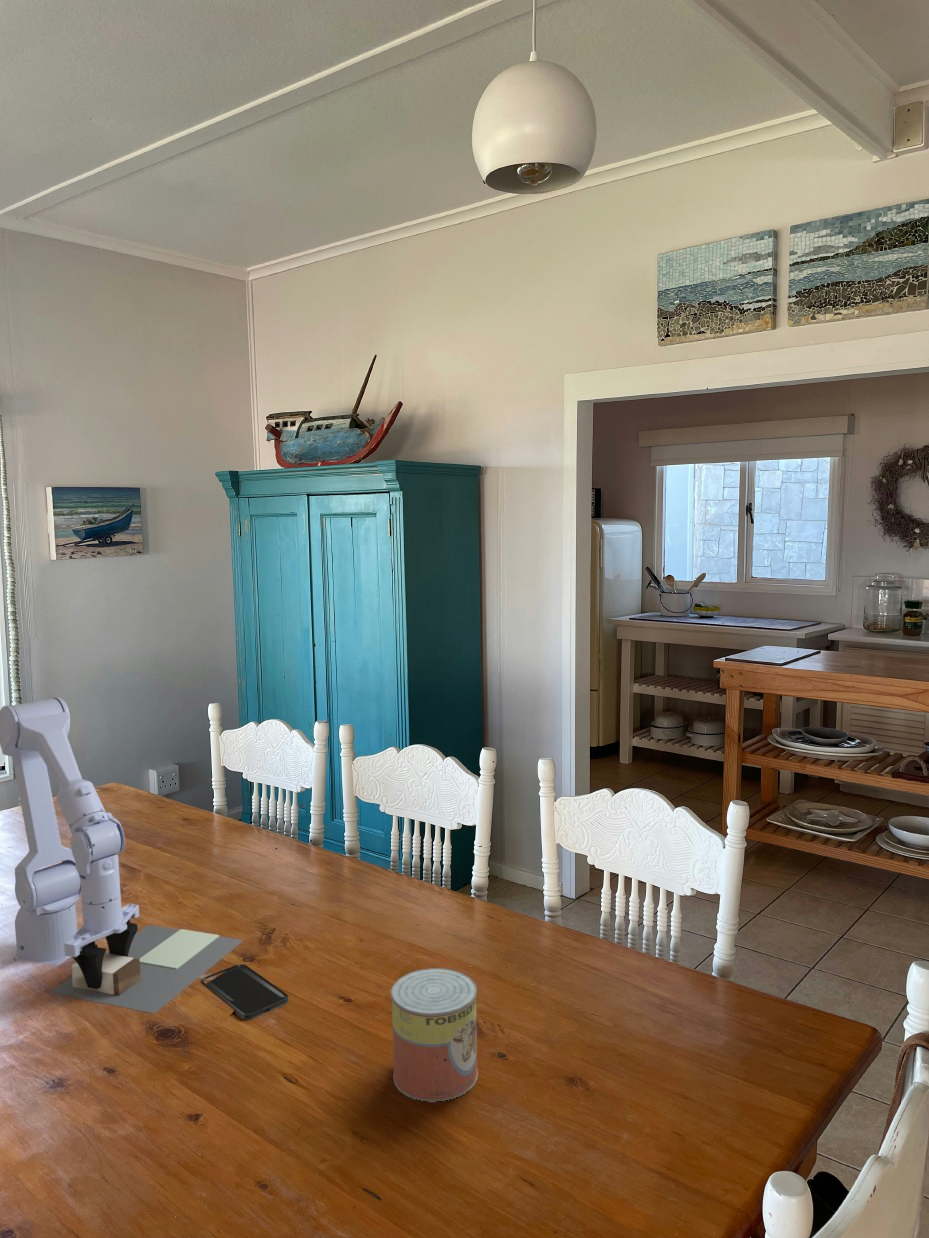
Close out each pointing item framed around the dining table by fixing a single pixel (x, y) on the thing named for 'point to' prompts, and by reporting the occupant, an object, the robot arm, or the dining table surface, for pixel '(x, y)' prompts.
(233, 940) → the mat
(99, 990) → the card box
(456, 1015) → the canned food
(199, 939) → the pad
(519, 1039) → the dining table surface
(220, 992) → the phone
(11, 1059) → the dining table surface
